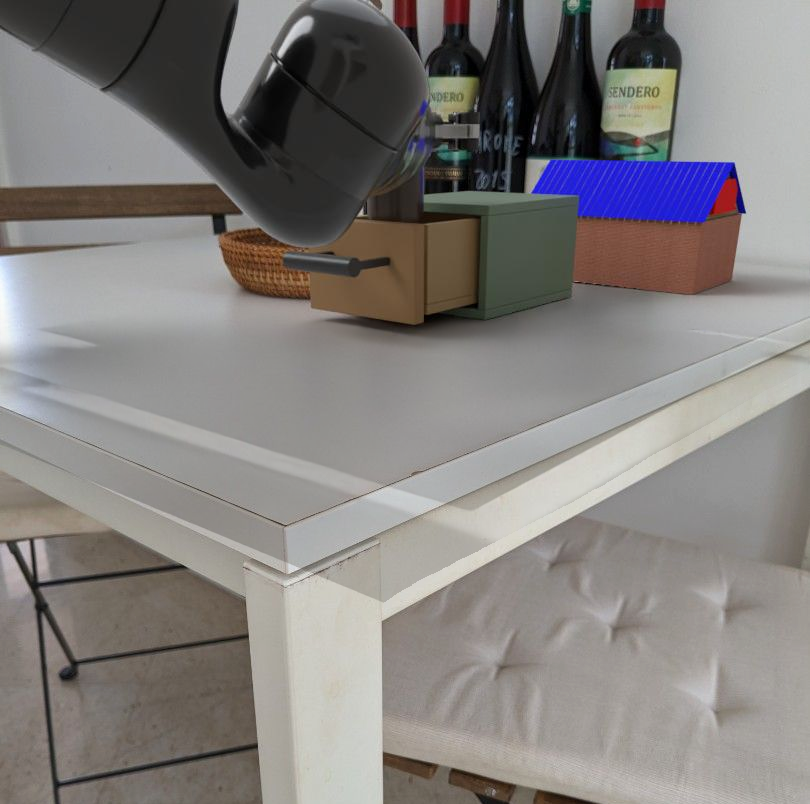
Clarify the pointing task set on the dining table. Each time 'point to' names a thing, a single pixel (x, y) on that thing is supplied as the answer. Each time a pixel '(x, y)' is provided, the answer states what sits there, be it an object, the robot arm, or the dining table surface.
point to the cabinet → (516, 248)
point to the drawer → (396, 268)
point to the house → (651, 221)
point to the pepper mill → (400, 203)
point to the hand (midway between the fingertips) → (398, 132)
